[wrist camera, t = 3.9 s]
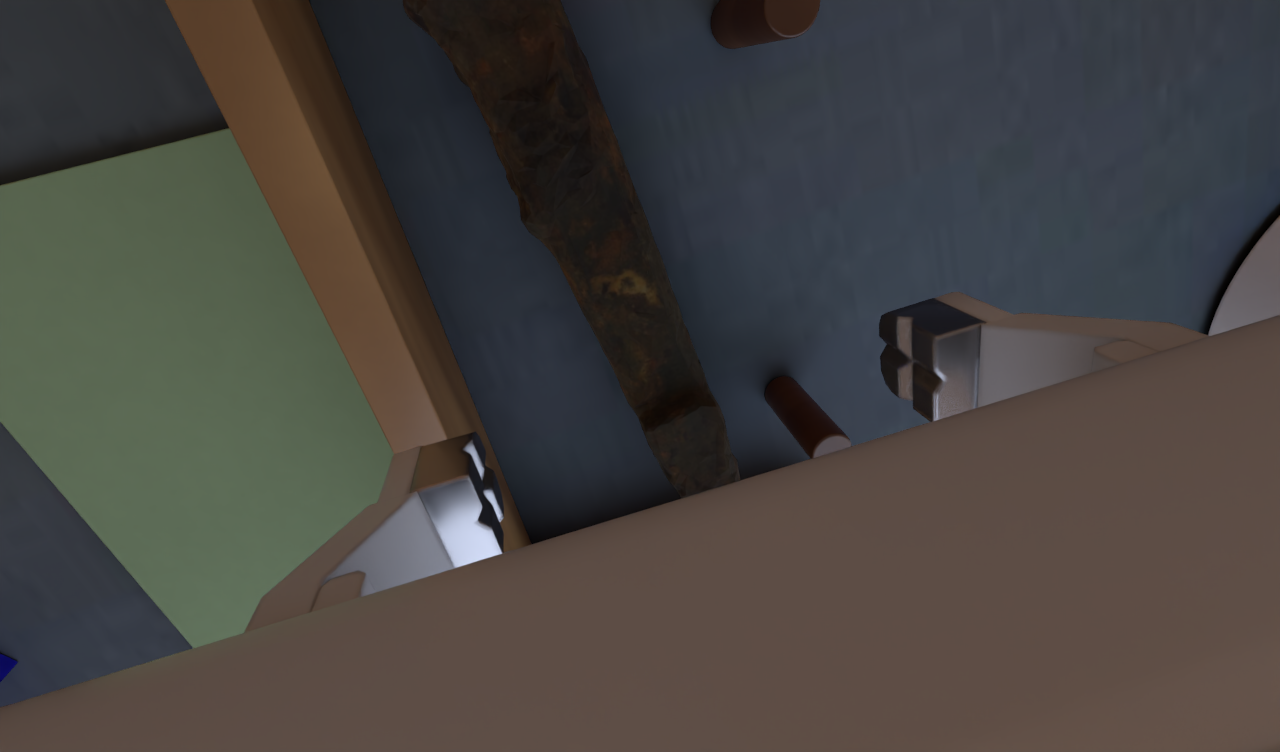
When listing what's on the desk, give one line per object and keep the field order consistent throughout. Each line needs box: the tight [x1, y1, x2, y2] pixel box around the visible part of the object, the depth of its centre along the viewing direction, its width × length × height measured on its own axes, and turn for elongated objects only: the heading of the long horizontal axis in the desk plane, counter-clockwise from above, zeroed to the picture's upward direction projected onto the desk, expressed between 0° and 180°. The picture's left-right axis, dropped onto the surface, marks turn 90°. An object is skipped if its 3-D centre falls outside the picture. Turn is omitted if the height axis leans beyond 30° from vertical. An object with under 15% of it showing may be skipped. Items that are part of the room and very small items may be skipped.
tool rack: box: [165, 0, 851, 553], centre depth 19 cm, size 14×24×4 cm, turn 13°
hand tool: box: [403, 0, 741, 498], centre depth 19 cm, size 19×4×5 cm, turn 20°
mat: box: [0, 128, 394, 648], centre depth 21 cm, size 11×22×1 cm, turn 13°
